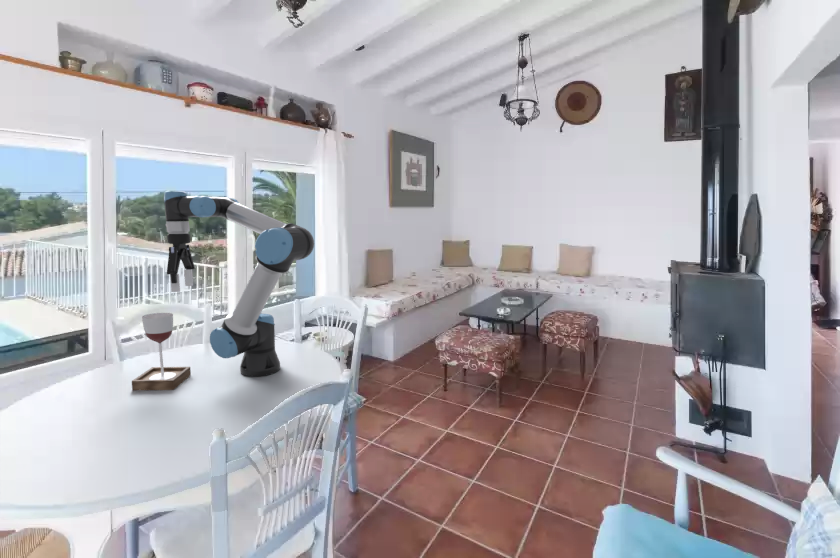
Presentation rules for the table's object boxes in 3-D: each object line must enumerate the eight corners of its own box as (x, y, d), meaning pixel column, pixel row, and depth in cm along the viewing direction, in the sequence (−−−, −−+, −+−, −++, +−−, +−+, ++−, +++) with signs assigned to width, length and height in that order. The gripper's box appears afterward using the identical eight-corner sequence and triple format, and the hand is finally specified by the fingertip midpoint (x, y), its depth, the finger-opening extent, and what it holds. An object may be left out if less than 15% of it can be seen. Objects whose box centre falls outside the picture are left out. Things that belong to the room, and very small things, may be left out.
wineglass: (165, 382, 156) (159, 319, 152) (141, 379, 158) (135, 317, 154) (183, 373, 165) (179, 313, 161) (160, 371, 166) (155, 312, 163)
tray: (190, 375, 169) (190, 366, 169) (173, 389, 156) (173, 380, 155) (152, 375, 168) (152, 367, 168) (132, 390, 154) (131, 381, 154)
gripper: (180, 231, 176) (184, 283, 179) (152, 234, 151) (158, 294, 154) (200, 231, 177) (204, 283, 180) (176, 234, 152) (180, 294, 155)
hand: (182, 288), depth 167 cm, fingers open, 13 cm apart
